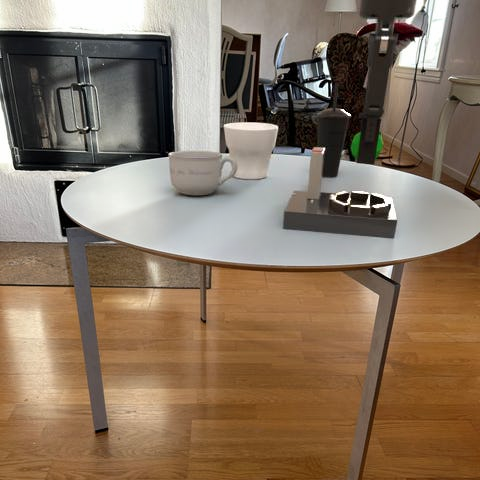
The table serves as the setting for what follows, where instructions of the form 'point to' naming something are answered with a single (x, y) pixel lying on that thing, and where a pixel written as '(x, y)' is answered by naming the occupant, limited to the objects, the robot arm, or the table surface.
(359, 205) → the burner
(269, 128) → the cup
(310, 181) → the upright white panel
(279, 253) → the table surface
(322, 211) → the cooktop
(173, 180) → the teacup
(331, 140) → the drinking cup
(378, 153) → the polyhedron
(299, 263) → the table surface
